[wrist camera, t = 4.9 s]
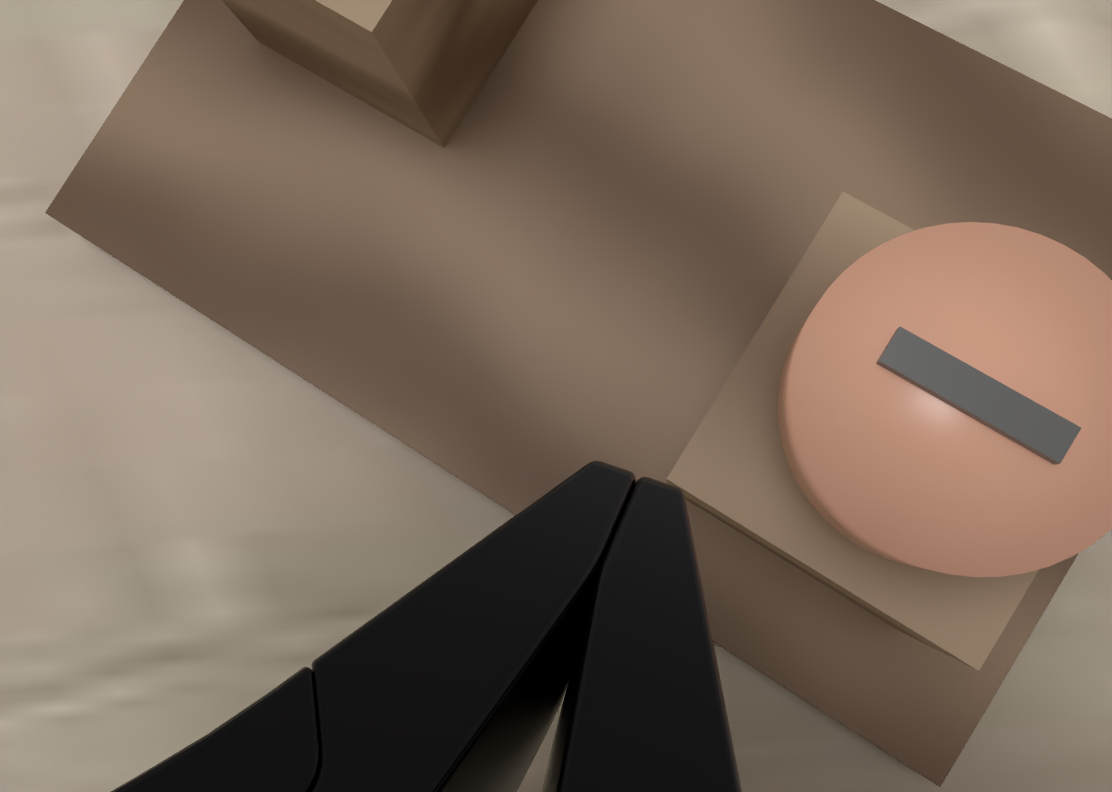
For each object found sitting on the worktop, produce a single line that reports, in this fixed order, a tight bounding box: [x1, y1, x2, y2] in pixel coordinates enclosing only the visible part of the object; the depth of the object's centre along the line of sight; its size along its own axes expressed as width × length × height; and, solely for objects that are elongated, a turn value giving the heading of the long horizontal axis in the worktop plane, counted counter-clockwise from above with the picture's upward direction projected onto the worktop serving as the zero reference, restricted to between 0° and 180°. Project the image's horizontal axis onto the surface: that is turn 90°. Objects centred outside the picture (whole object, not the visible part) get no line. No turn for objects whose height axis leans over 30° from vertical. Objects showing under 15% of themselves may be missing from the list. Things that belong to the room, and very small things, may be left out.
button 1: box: [778, 222, 1112, 577], centre depth 13 cm, size 4×4×2 cm
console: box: [45, 0, 1112, 787], centre depth 20 cm, size 14×24×7 cm, turn 58°
